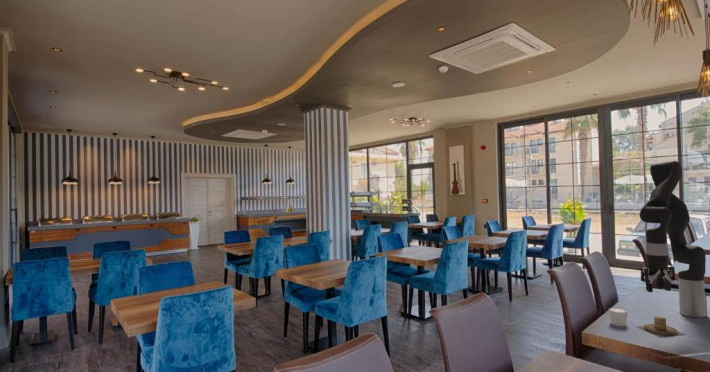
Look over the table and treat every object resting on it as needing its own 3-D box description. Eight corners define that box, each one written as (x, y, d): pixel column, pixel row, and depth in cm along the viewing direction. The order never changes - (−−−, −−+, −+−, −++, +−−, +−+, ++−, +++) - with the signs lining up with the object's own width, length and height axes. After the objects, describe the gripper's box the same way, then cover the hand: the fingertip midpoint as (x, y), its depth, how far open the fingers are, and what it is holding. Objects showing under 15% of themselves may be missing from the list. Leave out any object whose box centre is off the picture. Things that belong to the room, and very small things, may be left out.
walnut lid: (659, 325, 168) (659, 312, 168) (684, 334, 157) (683, 321, 157) (637, 327, 167) (637, 314, 167) (661, 336, 156) (660, 323, 156)
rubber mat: (660, 326, 169) (659, 324, 169) (686, 336, 157) (686, 334, 157) (635, 328, 167) (635, 326, 167) (661, 339, 155) (661, 337, 155)
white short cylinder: (610, 321, 177) (609, 306, 177) (628, 324, 172) (627, 309, 172) (608, 326, 171) (607, 310, 171) (627, 329, 167) (626, 313, 167)
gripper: (663, 250, 167) (665, 287, 167) (634, 252, 165) (636, 290, 165) (680, 253, 160) (681, 292, 160) (650, 255, 158) (651, 294, 158)
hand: (658, 291), depth 162 cm, fingers open, 8 cm apart
